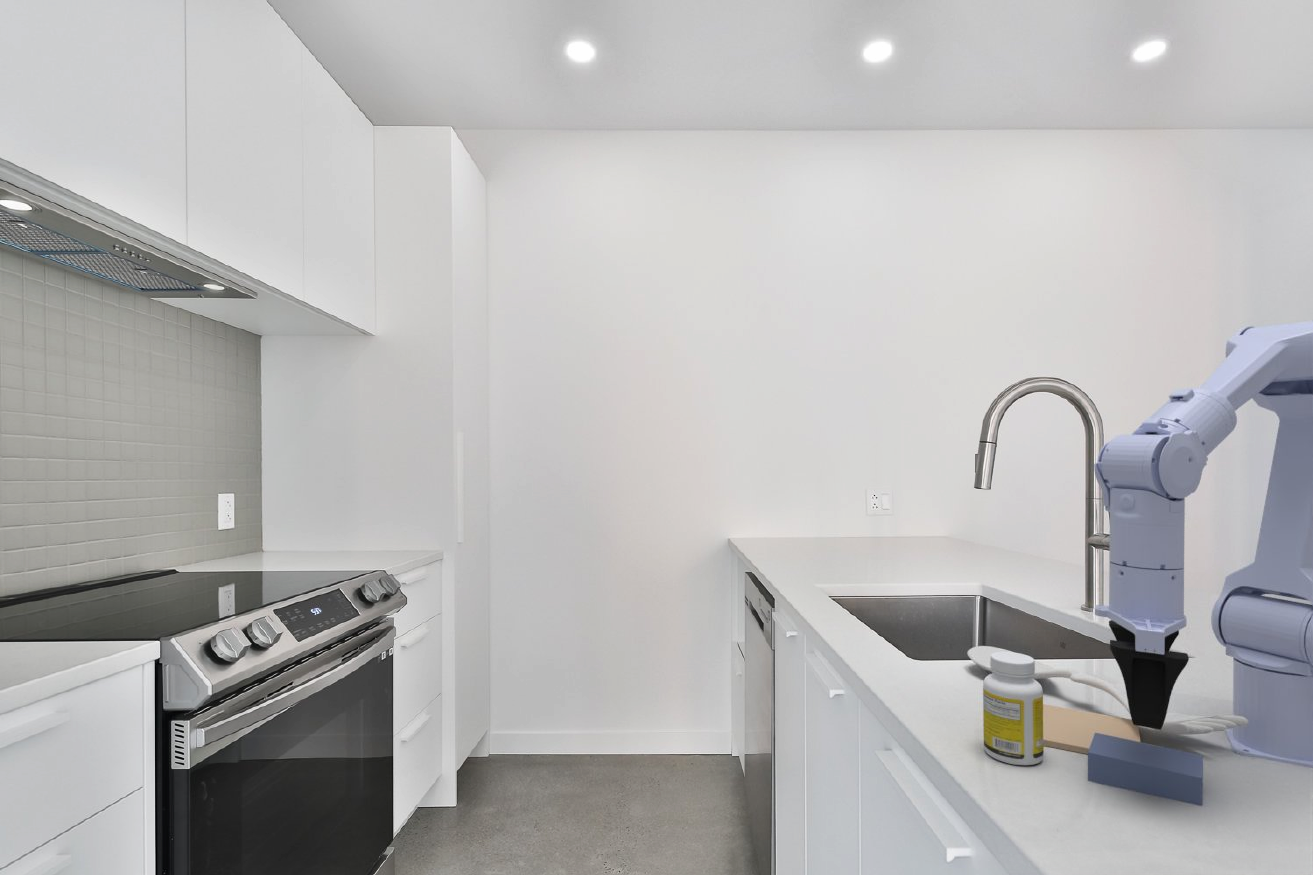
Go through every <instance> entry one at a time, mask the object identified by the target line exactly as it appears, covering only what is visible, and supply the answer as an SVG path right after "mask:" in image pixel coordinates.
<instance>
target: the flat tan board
mask: <svg viewBox="0 0 1313 875" xmlns="http://www.w3.org/2000/svg"><path fill="white" fill-rule="evenodd" d="M1095 733H1100V734H1105V735H1109V736H1114V737H1119V738H1123V739H1128V740H1133V741H1137V742H1141V735H1140V726H1137V725H1134V724H1133V722H1132V719H1130V718H1124V717H1120V716H1119V717H1118V716H1113V715H1107V714H1103V713H1102V714H1101V713H1097V712H1090V711H1083V710H1078V709H1073V708H1072V709H1071V708H1068V707H1067V708H1066V707H1061V706H1054V705H1050V704H1044V703H1043V747H1050V748H1053V749H1054V748H1055V749H1060V750H1065V751H1070V752H1074V753H1080V754H1085V755H1088V750H1089V748H1090V745H1091V742H1092V740H1093V737H1094V734H1095Z"/></svg>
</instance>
